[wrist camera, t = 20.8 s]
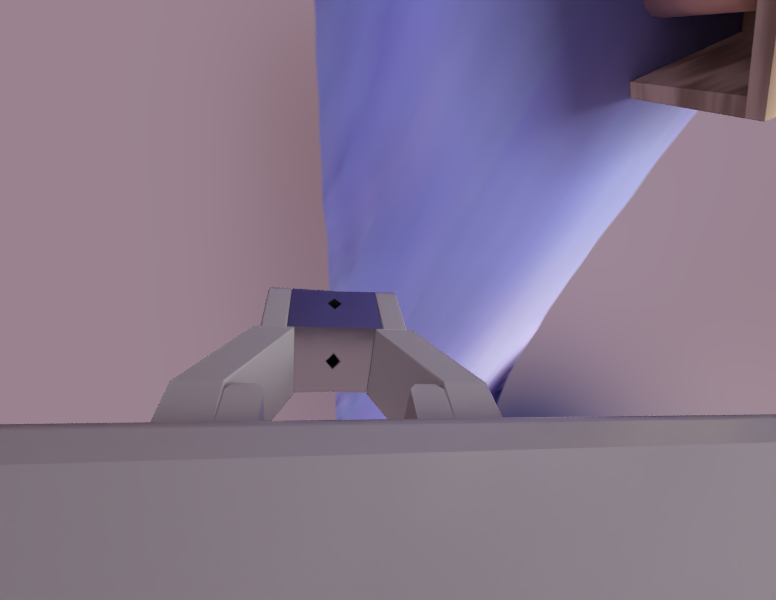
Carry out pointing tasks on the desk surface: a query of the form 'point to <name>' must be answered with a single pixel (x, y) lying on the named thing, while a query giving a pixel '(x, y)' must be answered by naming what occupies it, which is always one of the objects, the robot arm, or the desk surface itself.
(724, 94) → the wooden shelf
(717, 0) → the peach rounded capsule
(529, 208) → the desk surface
